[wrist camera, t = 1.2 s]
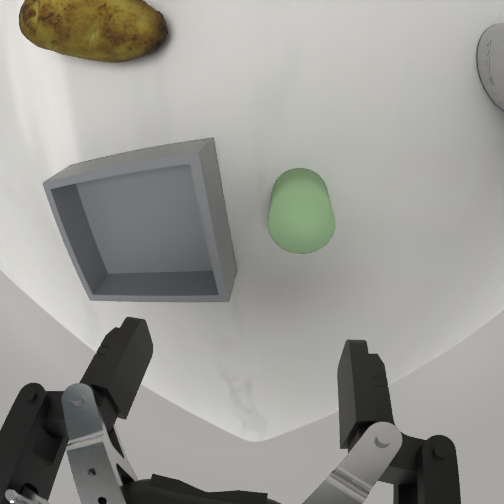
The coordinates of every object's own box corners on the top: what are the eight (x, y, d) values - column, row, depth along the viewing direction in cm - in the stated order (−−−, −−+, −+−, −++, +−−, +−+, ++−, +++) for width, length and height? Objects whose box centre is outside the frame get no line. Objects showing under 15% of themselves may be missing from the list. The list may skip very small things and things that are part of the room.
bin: (213, 137, 27) (198, 152, 23) (236, 270, 34) (228, 301, 30) (70, 165, 29) (42, 182, 25) (108, 274, 37) (89, 300, 32)
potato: (125, 96, 25) (75, 111, 19) (50, 26, 21) (-6, 28, 14) (186, 28, 22) (148, 17, 15) (99, -39, 18) (48, -55, 11)
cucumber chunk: (326, 166, 27) (334, 192, 22) (328, 217, 30) (335, 252, 25) (269, 170, 28) (264, 195, 23) (275, 220, 31) (271, 255, 26)
